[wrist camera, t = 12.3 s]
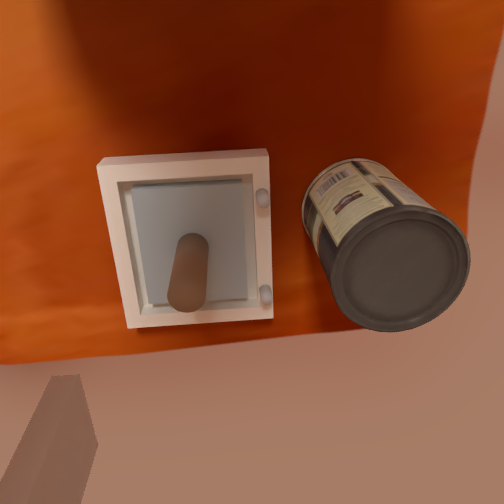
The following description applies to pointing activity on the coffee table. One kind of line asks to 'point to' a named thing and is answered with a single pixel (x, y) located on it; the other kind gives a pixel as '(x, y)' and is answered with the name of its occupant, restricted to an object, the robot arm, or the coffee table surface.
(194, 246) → the grey panel with handle
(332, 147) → the coffee table surface
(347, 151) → the coffee table surface
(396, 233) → the coffee can
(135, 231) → the frame
